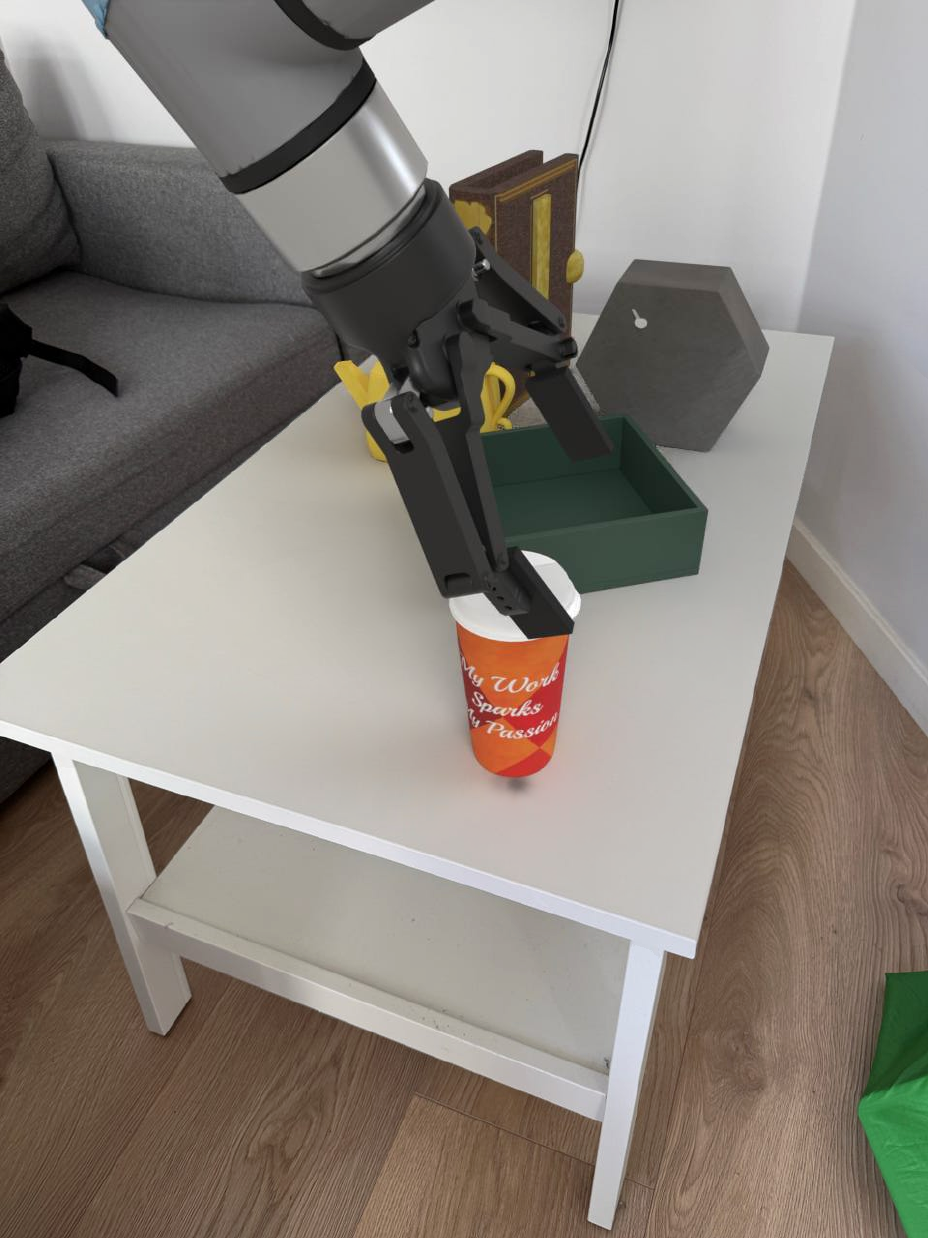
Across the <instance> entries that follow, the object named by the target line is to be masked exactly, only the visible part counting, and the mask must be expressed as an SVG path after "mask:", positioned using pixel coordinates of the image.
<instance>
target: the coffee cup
mask: <svg viewBox="0 0 928 1238" xmlns="http://www.w3.org/2000/svg"><path fill="white" fill-rule="evenodd" d="M522 553H523V554H524V555H525V557H526V558H527V559H528V561H529V562H530V563H531V565H532V566H533V567H534V569H535V570H536V571H537V573H538V574H539V575H540V577H541V578H542V579H543V581H544V582H545V583H546V585H547V586H548V587H549V589H550V590H551V591H552V593H553V594H554V595H555V597H556V598H557V599H558V601H559V602H560V603H561V605H562V606H563V607H564V609H565V610H566V611H567V613H568V614H569V615H570V617H571V618H572V619H573V620H574V618H576V617H577V616H578V615H579V613H580V609H581V604H582V600H581V594H579V593H578V592H577V591H576V589H575V587H574V585H573V583H572V582H571V580H570V579H569V578H568V575H567V573H566V572H565V571H564V569H563V568H562V567H561V566H560V565H559V564H558V563H557V562H556V561H554V560H553V559H551V558H549V557H547V556H544V555H541V554H538V553H534V552H529V551H522ZM448 606H449V610H450V613H451V616H452V617H453V619H454V620H455V626H456V636H457V644H458V645H457V646H458V652H459V658H460V666H461V674H462V680H463V687H464V697H465V704H466V712H467V720H468V728H469V735H470V740H471V746H472V747H471V748H472V751H473V755H474V757H475V760H476V761H477V763H478V764H479V765H480V766H481V767H482V768H483V769H485V770H486V771H488V772H490V773H491V774H493V775H496V776H500V777H503V778H511V779H512V778H515V779H516V778H524V777H528V776H531V775H534V774H536V773H538V772H541V770H543V769H544V768H545V767H547V765H548V764H549V763H550V761H551V759H552V758H553V755H554V752H555V747H556V741H557V735H558V728H559V720H560V714H561V713H560V712H561V706H562V698H563V688H564V682H565V673H566V664H567V658H568V657H567V656H568V650H569V649H568V648H569V642H570V641H569V640H570V634H568V635H561V636H553V637H545V638H538V639H530V640H528V639H527V637H526V636H525V635H524V634H523V632H522V631H521V630H520V629H519V628H518V626H517V625H516V624H515V623H514V621H513V620H512V619H511V618H510V617H509V616H504V615H502V614H500V613H499V612H498V611H497V610H496V608H495V606H493V605H492V603H491V602H490V601H489V600H488V599H487V597H486V596H485V595H484V594H483V593H479V594H473V595H467V596H461V597H455V598H449V599H448Z"/></svg>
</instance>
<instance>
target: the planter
mask: <svg viewBox="0 0 928 1238" xmlns="http://www.w3.org/2000/svg"><path fill="white" fill-rule="evenodd" d="M741 287H742V286H741V285H740V283H739V281H738V279H737V277H736V275H735V273H734V271H733V269H732V268H731V266H723V265H711V264H702V263H701V264H699V263H688V262H678V261H677V262H675V261H665V260H663V261H662V260H655V259H653V260H652V259H640V258H635V259H633V260H632V262H631V263H630V264H629V266H627V268H626V270H625V271H624V272H623V274H622V275H621V276H620V278H619V279H618V281H617V282H616V284H615V285H614V287H613V290H612V292H611V293H610V294H609V297H608V299H607V301H606V303H605V305H604V307H603V309H602V311H601V312H600V315H599V317H598V318H597V320H596V323H595V324H594V327H593V329H592V331H591V333H590V335H589V336H588V338H587V341H586V343H585V344H584V346H583V348H582V349H581V350H582V351H581V353H580V354H579V356H578V358H577V360H576V362H575V367H576V369H577V371H578V372H579V373H578V374H580V376H581V378H582V380H583V381H584V383H585V385H586V386H587V388H588V391H589V392H590V393H591V395H592V397H593V399H594V400H595V402H596V404H597V405H598V407H599V409H600V411H601V412H602V414H603V416H607V415H615V414H622V413H628V414H629V415H630V416H631V418H632V419H633V420H634V421H635V422H636V424H637V425H638V426H639V427H640V428H641V430H642V431H643V432H644V433H645V434H646V436H647V437H648V438H649V439H650V440H651V442H652V443H653V444H654V445H655V446H662V447H669V448H677V449H685V450H691V451H695V452H696V451H698V452H704V453H707V452H710V451H711V450H712V449H713V448H714V446H715V444H716V443H717V441H718V440H719V439H720V437H721V436H722V434H723V433H724V431H725V430H726V428H727V427H728V426H729V424H730V423H731V421H732V420H733V418H734V417H735V416H736V414H737V412H738V411H739V410H740V409H741V407H742V405H743V403H745V401H746V399H747V398H748V396H749V395H750V394H751V392H752V391H753V389H754V388H755V387H756V385H757V383H758V382H759V380H760V379H761V377H762V374H763V370H764V368H765V365H766V361H767V358H768V355H769V351H770V346H769V343H768V341H767V339H766V337H765V335H764V333H763V331H762V329H761V327H760V324H759V323H758V320H757V318H756V316H755V314H754V312H753V310H752V308H751V306H750V304H749V301H748V300H747V297H746V296H745V293H744V291H743V289H742V288H741ZM633 310H634V311H635V312H636V314H637V316H638V317H639V319H643V320H645V321H646V326H644V327H638V326H637V325H636V320H637V317H636V315H635V312H634V311H633Z"/></svg>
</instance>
